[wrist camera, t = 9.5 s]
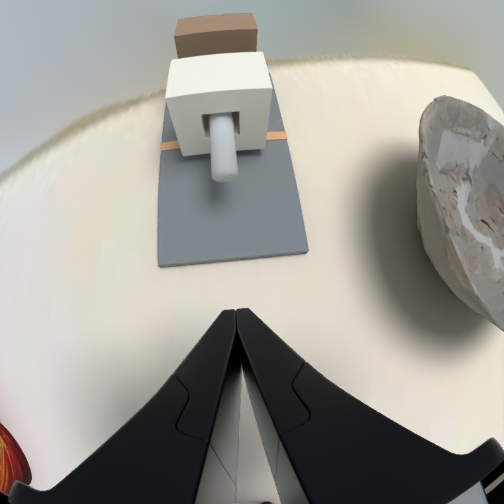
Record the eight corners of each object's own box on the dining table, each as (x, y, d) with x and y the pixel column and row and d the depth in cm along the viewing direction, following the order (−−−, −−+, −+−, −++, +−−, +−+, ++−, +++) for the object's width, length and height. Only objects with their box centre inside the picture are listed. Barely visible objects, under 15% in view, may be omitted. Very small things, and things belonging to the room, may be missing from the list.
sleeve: (265, 148, 23) (272, 88, 16) (182, 156, 22) (165, 98, 16) (258, 109, 24) (262, 51, 17) (184, 116, 24) (171, 60, 17)
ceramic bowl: (513, 329, 21) (570, 319, 11) (372, 356, 20) (448, 367, 11) (487, 171, 27) (528, 136, 17) (353, 134, 26) (387, 67, 17)
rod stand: (306, 253, 22) (349, 199, 13) (160, 267, 22) (106, 223, 12) (269, 77, 28) (276, 10, 19) (170, 86, 28) (154, 20, 18)
